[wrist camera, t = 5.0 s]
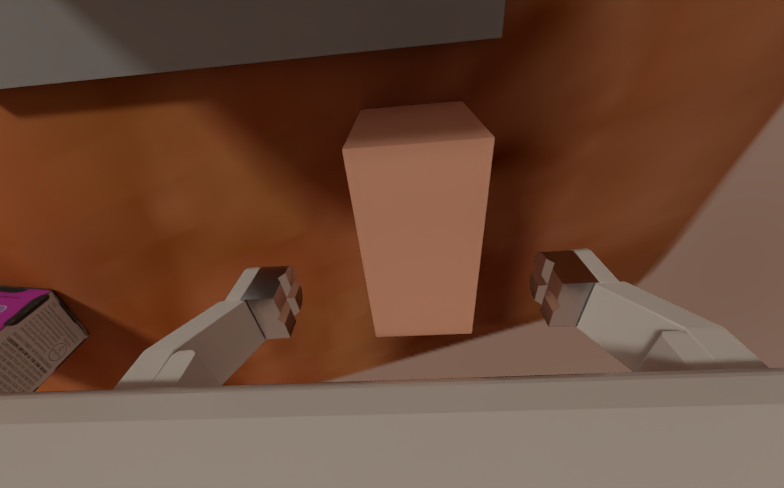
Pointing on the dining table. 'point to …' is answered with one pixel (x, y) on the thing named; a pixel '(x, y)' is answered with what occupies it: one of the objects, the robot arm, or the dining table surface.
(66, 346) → the candy bar box
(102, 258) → the dining table surface
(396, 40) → the white stack on tray
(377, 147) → the terracotta brick
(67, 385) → the dining table surface
